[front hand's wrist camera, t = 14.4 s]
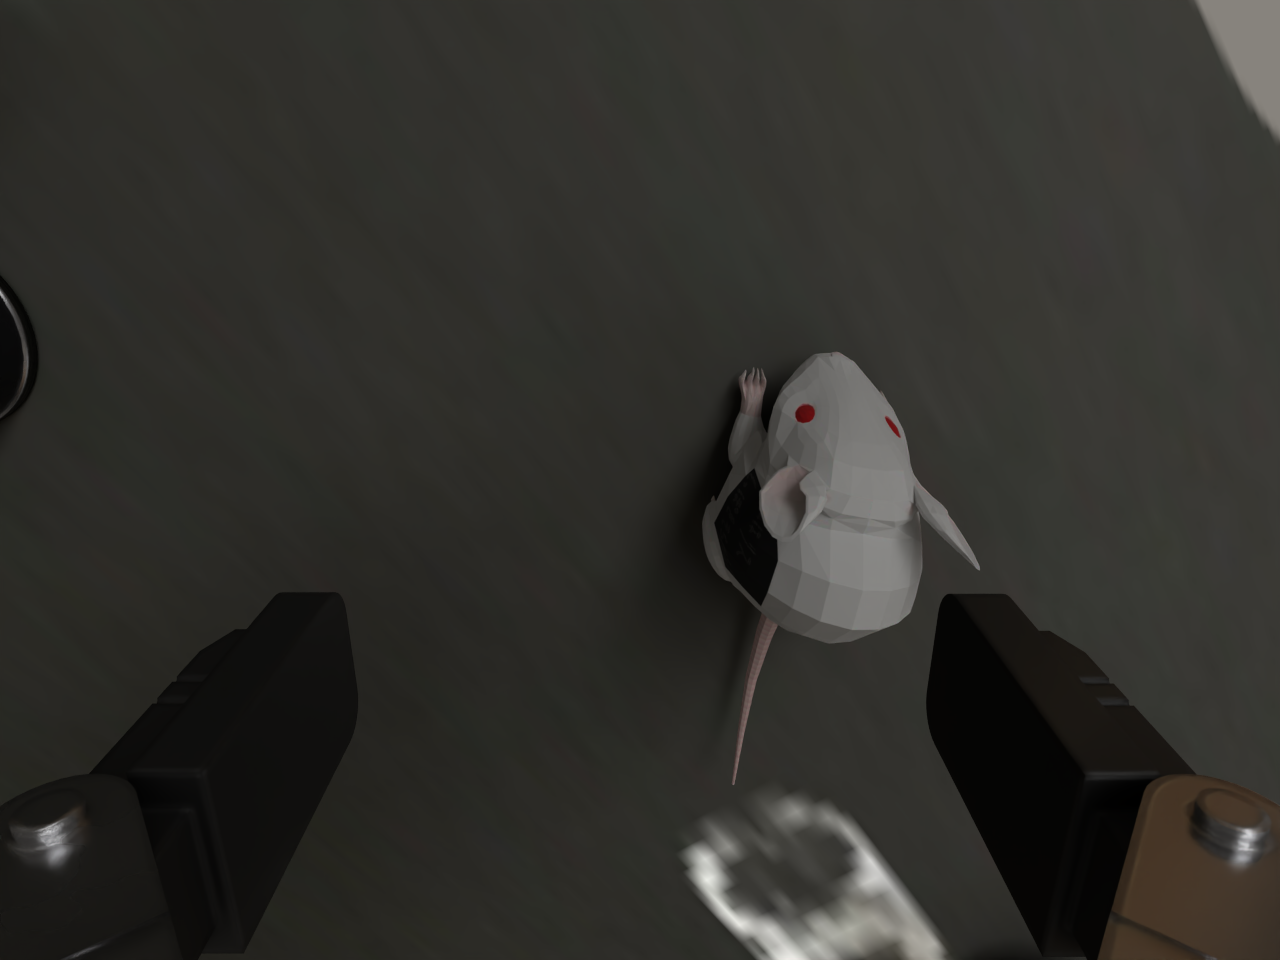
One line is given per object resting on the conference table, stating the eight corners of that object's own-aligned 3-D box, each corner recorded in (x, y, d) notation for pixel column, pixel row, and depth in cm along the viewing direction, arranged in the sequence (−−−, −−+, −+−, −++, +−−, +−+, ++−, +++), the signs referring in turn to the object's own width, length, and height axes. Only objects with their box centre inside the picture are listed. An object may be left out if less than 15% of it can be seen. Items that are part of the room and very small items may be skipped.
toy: (912, 351, 40) (1059, 452, 26) (802, 749, 48) (868, 989, 34) (729, 322, 39) (778, 409, 25) (649, 729, 48) (654, 964, 34)
